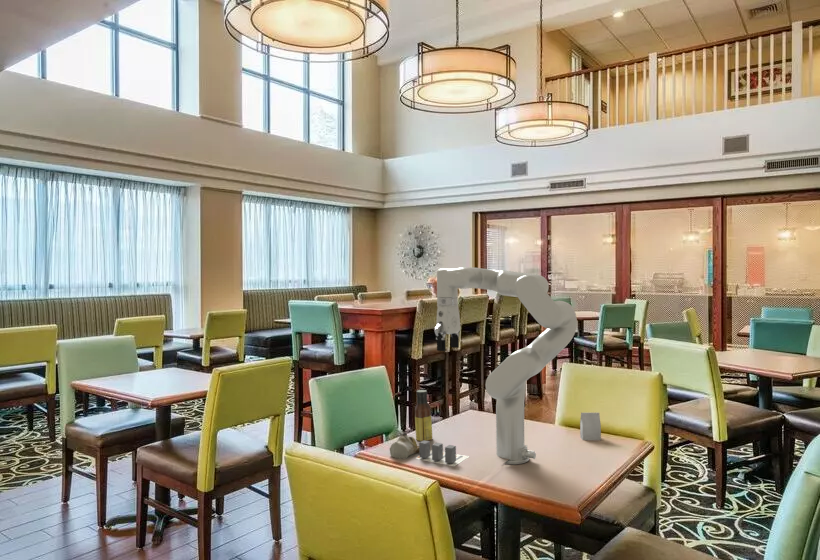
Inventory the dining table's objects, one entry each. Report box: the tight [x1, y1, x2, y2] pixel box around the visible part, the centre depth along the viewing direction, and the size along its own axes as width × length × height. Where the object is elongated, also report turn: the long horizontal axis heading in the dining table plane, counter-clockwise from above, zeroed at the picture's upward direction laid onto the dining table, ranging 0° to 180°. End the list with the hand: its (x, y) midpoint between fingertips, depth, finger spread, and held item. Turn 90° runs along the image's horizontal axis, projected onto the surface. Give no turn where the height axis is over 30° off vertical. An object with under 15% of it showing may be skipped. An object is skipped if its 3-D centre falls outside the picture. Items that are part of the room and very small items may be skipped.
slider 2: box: [431, 442, 444, 461], centre depth 190 cm, size 2×3×5 cm
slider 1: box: [418, 440, 431, 459], centre depth 192 cm, size 2×3×5 cm
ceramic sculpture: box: [389, 433, 419, 459], centre depth 198 cm, size 11×9×15 cm
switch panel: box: [414, 449, 470, 467], centre depth 192 cm, size 15×11×2 cm
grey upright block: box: [579, 412, 602, 441], centre depth 216 cm, size 4×7×10 cm, turn 87°
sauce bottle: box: [414, 389, 433, 442], centre depth 214 cm, size 6×6×20 cm
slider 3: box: [444, 444, 457, 464], centre depth 187 cm, size 2×3×5 cm
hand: (448, 349), depth 207 cm, fingers open, 9 cm apart
